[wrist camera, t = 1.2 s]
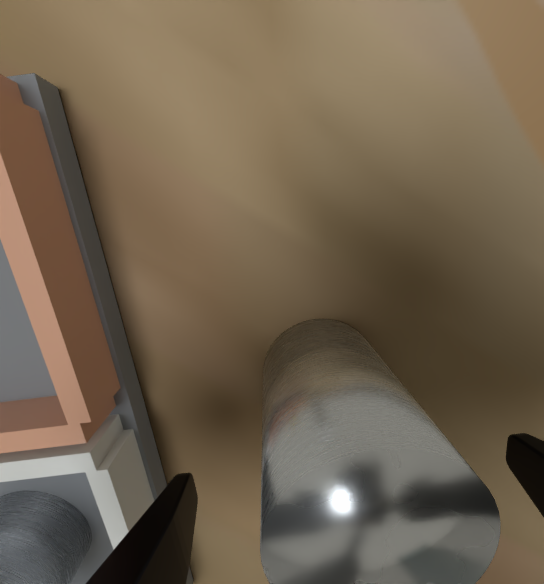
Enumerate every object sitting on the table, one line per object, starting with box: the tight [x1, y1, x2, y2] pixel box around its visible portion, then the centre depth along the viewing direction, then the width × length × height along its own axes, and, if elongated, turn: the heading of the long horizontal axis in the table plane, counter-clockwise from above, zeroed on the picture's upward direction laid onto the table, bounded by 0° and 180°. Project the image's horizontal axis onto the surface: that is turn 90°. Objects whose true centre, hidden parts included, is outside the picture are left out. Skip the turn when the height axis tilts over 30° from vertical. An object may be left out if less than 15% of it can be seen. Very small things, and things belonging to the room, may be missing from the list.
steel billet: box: [260, 319, 500, 584], centre depth 9 cm, size 5×5×7 cm
